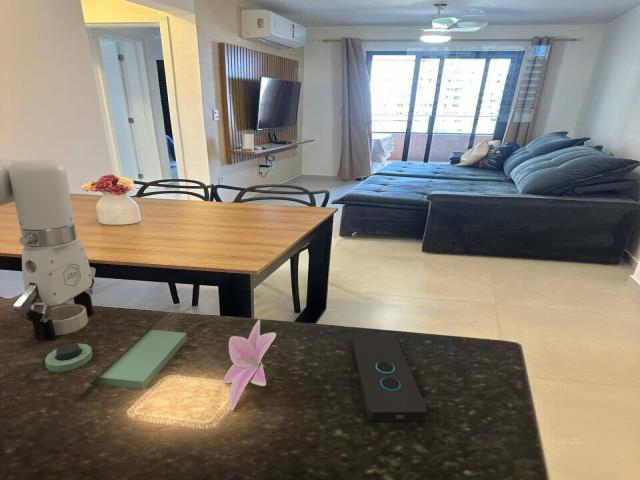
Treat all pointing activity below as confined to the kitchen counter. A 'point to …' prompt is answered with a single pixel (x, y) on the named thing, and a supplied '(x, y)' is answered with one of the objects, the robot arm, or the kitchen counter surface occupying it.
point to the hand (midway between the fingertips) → (66, 326)
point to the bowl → (68, 318)
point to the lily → (247, 362)
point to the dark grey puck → (68, 351)
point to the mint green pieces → (128, 360)
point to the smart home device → (386, 380)
